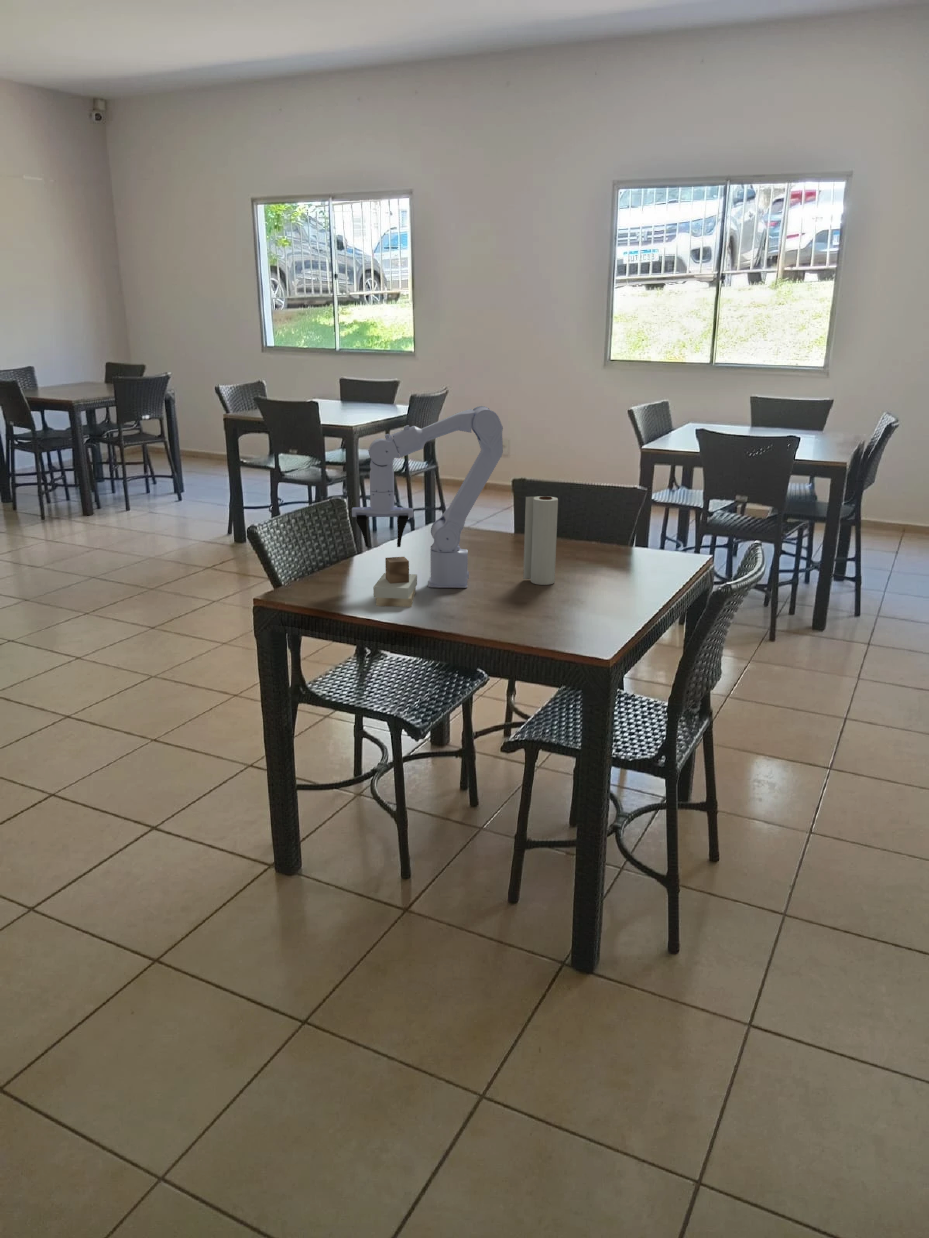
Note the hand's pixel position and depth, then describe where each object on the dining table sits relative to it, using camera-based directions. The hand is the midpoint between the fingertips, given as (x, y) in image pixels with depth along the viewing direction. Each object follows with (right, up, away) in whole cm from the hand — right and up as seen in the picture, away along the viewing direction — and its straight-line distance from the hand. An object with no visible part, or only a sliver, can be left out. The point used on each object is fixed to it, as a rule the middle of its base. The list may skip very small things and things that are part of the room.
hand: (383, 546), depth 223 cm
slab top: (+4, -11, -8) cm, 14 cm away
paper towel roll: (+39, -9, +8) cm, 41 cm away
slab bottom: (+4, -13, -7) cm, 16 cm away
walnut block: (+4, -9, -9) cm, 13 cm away
